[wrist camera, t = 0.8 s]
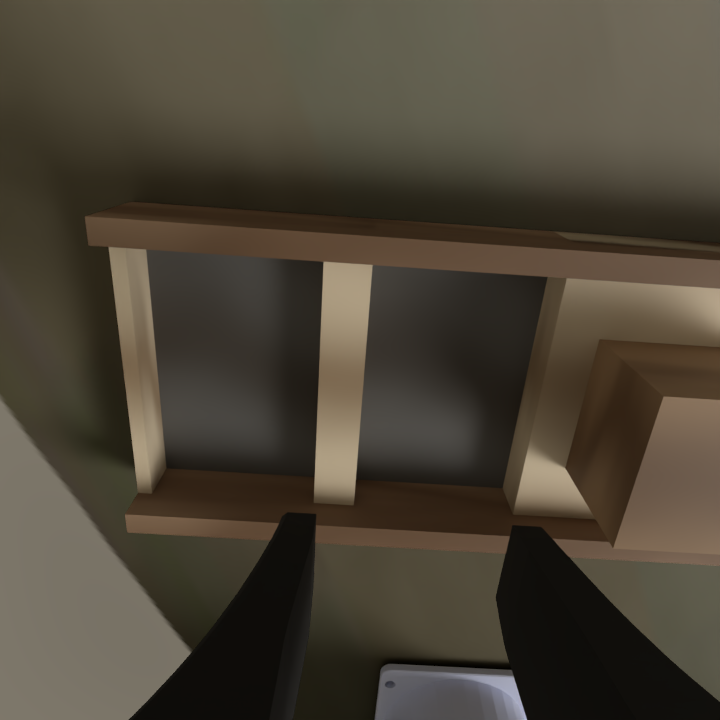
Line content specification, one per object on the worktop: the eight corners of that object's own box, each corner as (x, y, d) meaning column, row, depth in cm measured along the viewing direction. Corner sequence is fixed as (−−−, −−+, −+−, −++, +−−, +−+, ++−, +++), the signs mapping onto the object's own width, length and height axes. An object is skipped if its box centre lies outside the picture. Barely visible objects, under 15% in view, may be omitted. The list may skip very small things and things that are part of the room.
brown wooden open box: (871, 519, 23) (985, 607, 18) (158, 478, 22) (111, 559, 18) (1017, 263, 18) (1208, 303, 14) (131, 201, 17) (60, 224, 13)
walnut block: (701, 476, 19) (780, 558, 16) (565, 468, 19) (613, 548, 16) (751, 349, 17) (855, 408, 14) (599, 339, 17) (663, 396, 14)
